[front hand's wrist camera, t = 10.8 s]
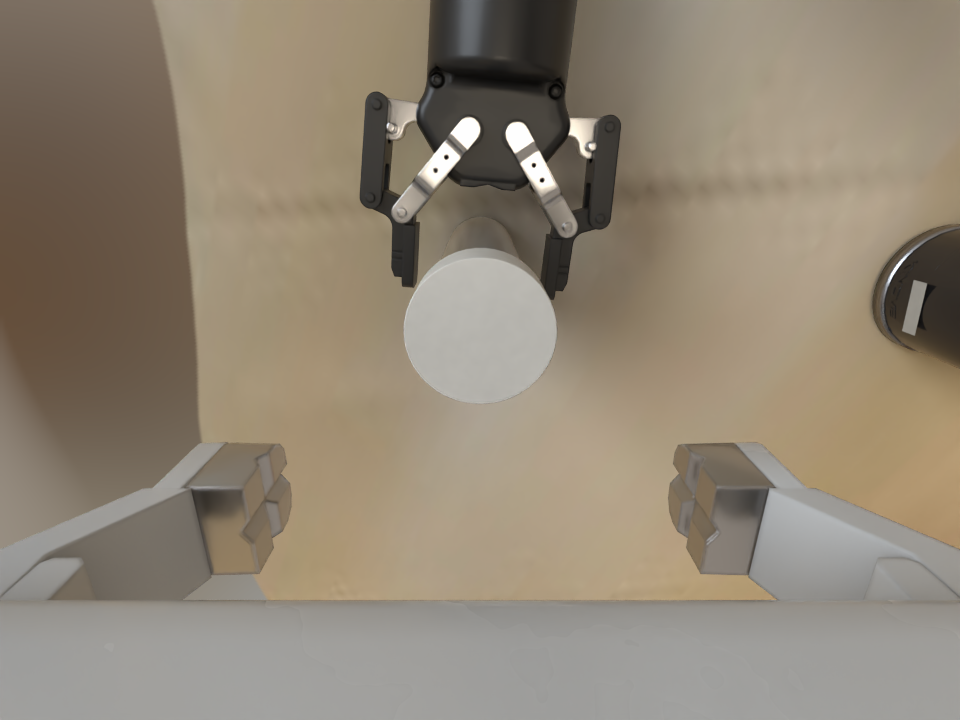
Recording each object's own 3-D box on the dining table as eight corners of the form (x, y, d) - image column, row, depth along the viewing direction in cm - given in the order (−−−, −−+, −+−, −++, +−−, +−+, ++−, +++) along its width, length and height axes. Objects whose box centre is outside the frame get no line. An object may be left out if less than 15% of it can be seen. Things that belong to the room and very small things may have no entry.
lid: (557, 252, 20) (566, 263, 18) (541, 384, 22) (548, 408, 19) (413, 242, 20) (404, 252, 17) (410, 376, 22) (402, 400, 19)
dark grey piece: (515, 218, 37) (551, 271, 18) (509, 284, 38) (537, 393, 20) (449, 214, 37) (417, 262, 18) (446, 279, 38) (414, 386, 20)
